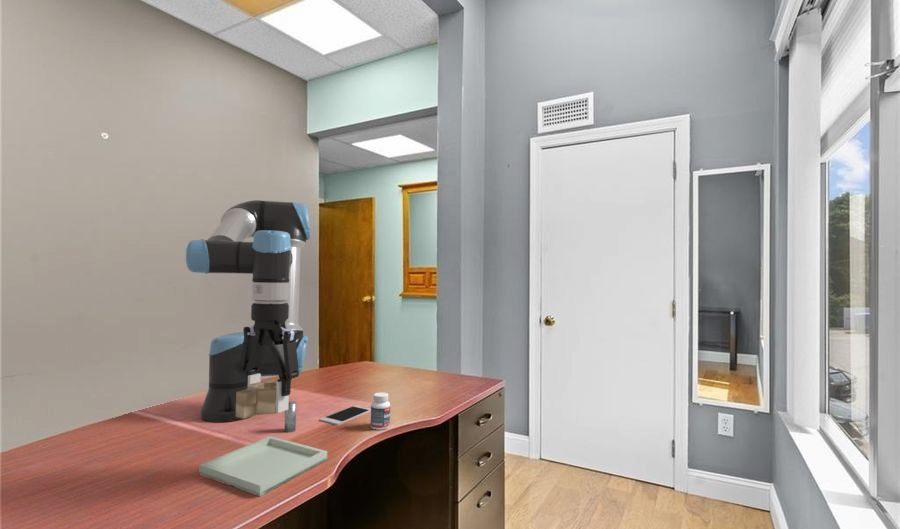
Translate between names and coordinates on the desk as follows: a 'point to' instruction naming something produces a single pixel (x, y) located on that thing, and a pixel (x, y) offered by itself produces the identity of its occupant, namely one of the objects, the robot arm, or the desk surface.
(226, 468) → the tray
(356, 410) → the smartphone
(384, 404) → the pill bottle
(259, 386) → the tan notched block
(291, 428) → the grey metal cylinder
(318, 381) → the desk surface
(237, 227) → the robot arm
